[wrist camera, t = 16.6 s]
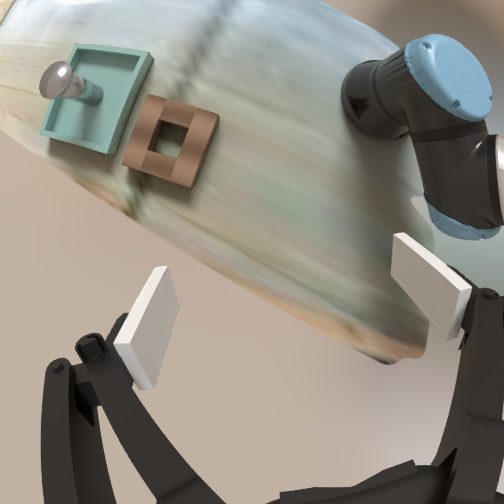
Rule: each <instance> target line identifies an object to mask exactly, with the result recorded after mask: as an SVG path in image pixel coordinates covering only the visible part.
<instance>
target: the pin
mask: <svg viewBox="0 0 504 504" xmlns="http://www.w3.org/2000/svg"><path fill="white" fill-rule="evenodd" d="M39 89H40V93H41V95H42V96H43V97H45V98H48V99H56V98H59V97H63V98H66V99H69V100H72V101H75V102H78V103H81V104H84V105H87V106H90V107H93V106H96V105H98V104H99V103H100V102H101V100H102V98H103V96H104V91H103V88H102V87H101V86H99V85H97V84H95V83H93V82H91V81H89V80H87V79H85V78H83V77H81V76H79V75H77V74H75V73H73V68H72V66H71V65H70V64H68V63H66V62H64V61H58V62H55V63H53V64H52V65H51V66H49V67H48V68H47V70H46V71H45V72H44V74H43V76H42V78H41V81H40V86H39Z"/></svg>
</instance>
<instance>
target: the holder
mask: <svg viewBox="0 0 504 504" xmlns="http://www.w3.org/2000/svg"><path fill="white" fill-rule="evenodd" d="M219 118H220V117H219V114H216V113H213V112H210V111H206V110H203V109H200V108H197V107H194V106H190V105H187V104H183V103H180V102H176V101H173V100H169V99H165V98H162V97H158V96H154V95H150V94H148V95H147V97H146V99H145V102H144V104H143V107H142V109H141V112H140V114H139V117H138V119H137V122H136V124H135V127H134V130H133V132H132V135H131V138H130V141H129V144H128V147H127V150H126V152H125V156H124V159H123V162H122V165H124V166H127V167H130V168H133V169H136V170H139V171H142V172H145V173H148V174H151V175H154V176H157V177H160V178H163V179H166V180H169V181H172V182H175V183H178V184H181V185H184V186H186V187H189V188H191V187H193V185H194V182H195V180H196V177H197V174H198V172H199V169H200V166H201V164H202V161H203V158H204V156H205V153H206V151H207V148H208V145H209V143H210V140H211V138H212V135H213V133H214V130H215V128H216V126H217V123H218V121H219ZM163 122H167V123H170V124H173V125H177V126H180V127H183V128H186V129H189V130H188V132H187V135H186V137H185V140H184V143H183V145H182V148H181V150H180V153H179V156H178V159H176V158H173V157H170V156H167V155H164V154H161V153H157V152H154V151H152V150H153V148H154V145H155V142H156V139H157V137H158V134H159V132H160V129H161V126H162V124H163Z"/></svg>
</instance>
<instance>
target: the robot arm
mask: <svg viewBox="0 0 504 504" xmlns="http://www.w3.org/2000/svg"><path fill="white" fill-rule="evenodd" d="M490 100H492V90H491V86H490V83H489V80H488V78H487V75H486V73H485V71H484V69H483V68H482V66H481V65H480V63H479V62H478V60H477V59H476V58H475V56H473V54H472V53H471V52H470V51H469V50H468V49H466V48H465V47H464V46H462V44H460V43H459V42H457V41H456V40H454V39H452V38H450V37H447V36H444V35H440V34H431V35H427V36H425V37H422V38H420V39H416V40H414V41H411V42H410V43H408V44H407V45H406V46H405V47H403V48H401V49H400V50H398V51H397V52H395V53H394V54H392V55H390V56H389V57H387V58H386V59H384V60H369V61H365V62H362V63H360V64H358V65H357V66H355V67H354V68H353V69H351V70H350V71H349V72H348V74H347V75H346V77H345V79H344V81H343V84H342V102H343V106H344V109H345V111H346V113H347V115H348V117H349V119H350V120H351V122H352V123H353V124H354V125H355V126H356V127H357V128H358V129H359V130H360V131H361V132H362V133H364V134H365V135H367V136H368V137H370V138H373V139H375V140H379V141H394V140H399V139H402V138H404V137H406V136H407V135H409V134H410V135H411V139H412V143H413V147H414V150H415V154H416V158H417V162H418V166H419V170H420V174H421V179H422V183H423V188H424V198H425V200H426V203H427V205H428V210H429V215H430V218H431V220H432V222H433V223H434V225H435V226H436V227H437V228H438V229H439V230H440V231H442V232H443V233H445V234H447V235H449V236H452V237H455V238H459V239H464V240H479V239H480V238H483V239H488V238H491V237H493V236H495V235H496V234H497V233H498V232H499V231H500V228H501V226H502V225H504V136H502V135H501V134H494V135H489V134H488V131H487V127H486V123H485V120H484V118H485V117H486V116H487V115H488V114H489V113H490V111H491V109H492V103H491V101H490ZM390 275H391V276H392V278H393V279H394V280H395V281H396V282H397V283H398V284H399V285H400V287H401V288H402V289H403V290H404V291H405V292H406V293H407V295H408V296H409V297H410V298H411V299H412V300H413V302H414V303H415V304H416V305H417V306H418V308H419V309H420V310H421V311H422V312H423V314H424V315H425V316H426V317H427V319H428V320H429V321H430V322H431V323H432V325H433V326H434V327H435V328H436V330H437V331H438V332H439V333H440V335H441V336H442V337H443V339H444V340H445V341H448V340H451V339H454V338H456V337H458V334H459V331H460V328H461V327H462V328H463V329H464V331H465V333H464V336H463V339H462V341H461V344H460V347H459V350H460V349H461V348H462V349H461V356H460V363H459V369H458V374H457V380H456V385H455V390H454V394H453V399H452V403H451V407H450V411H449V415H448V419H447V422H446V426H445V430H444V433H443V436H442V439H441V443H440V446H439V448H438V451H437V454H436V456H435V458H434V460H433V462H432V463H431V465H418V466H415V463H414V461H413V459H412V460H410V461H407V462H405V463H402V464H399V465H396V466H393V467H391V468H388V469H385V470H383V471H381V472H379V473H377V474H376V475H374V476H372V477H370V478H368V479H366V480H365V481H363V482H361V483H359V484H357V485H355V486H352V487H333V488H332V487H330V488H328V487H313V488H307V489H301V490H295V491H287V492H280V499H277V500H274V501H271V502H269V503H267V504H504V494H501V493H499V492H496V489H497V485H498V481H499V477H500V473H501V468H502V464H503V459H504V421H503V420H502V413H503V402H504V296H499V294H498V293H497V292H496V291H494V290H492V289H489V288H480V289H479V288H478V287H477V286H476V285H474V284H473V283H472V282H471V281H470V280H469V279H467V278H465V276H464V275H463V274H461V273H460V272H459V271H458V270H457V269H455V268H454V267H451V266H449V265H445V264H444V263H443V262H442V261H441V260H439V259H438V258H437V257H436V256H434V255H433V254H432V253H430V252H429V251H428V250H427V249H425V248H424V247H423V246H421V245H420V244H419V243H417V242H416V241H415V240H413V239H412V238H411V237H409V236H408V235H407V234H405V233H397V234H393V249H392V263H391V274H390ZM179 307H180V306H179V303H178V299H177V296H176V293H175V289H174V286H173V283H172V279H171V276H170V273H169V269H168V266H161V267H155V269H154V270H153V272H152V274H151V275H150V277H149V279H148V281H147V282H146V284H145V286H144V288H143V289H142V291H141V293H140V295H139V296H138V298H137V300H136V302H135V304H134V305H133V307H132V309H131V311H130V313H124V314H122V315H121V316H120V317H119V318H118V319H117V320H116V322H115V324H114V326H113V328H112V329H111V332H110V333H109V335H108V336H107V338H106V340H105V341H104V339H103V337H102V335H100V334H99V333H90V334H88V335H85V336H83V337H82V338H80V340H79V341H78V342H77V343H76V345H75V350H76V352H77V354H78V355H79V357H80V358H81V360H82V362H83V363H81V364H77V365H73V366H72V365H71V364H70V362H69V360H67V359H66V358H58V359H56V360H54V361H53V362H51V363H50V364H49V366H48V367H47V369H46V373H45V381H44V391H43V401H42V416H41V472H42V486H43V496H44V504H116V500H115V497H114V493H113V489H112V485H111V481H110V477H109V473H108V469H107V464H106V459H105V454H104V449H103V444H102V438H101V432H100V426H99V419H98V412H97V406H102V407H103V410H104V412H105V414H106V416H107V418H108V420H109V422H110V424H111V426H112V428H113V430H114V432H115V434H116V435H117V437H118V439H119V441H120V443H121V445H122V446H123V448H124V450H125V452H126V453H127V454H128V457H129V458H130V460H131V462H132V463H133V465H134V466H135V468H136V470H137V471H138V472H139V474H140V476H141V477H142V479H143V480H144V482H145V483H146V485H147V486H148V488H149V489H150V490H151V492H152V493H153V495H154V496H155V498H156V500H157V502H156V503H157V504H226V503H225V502H224V501H223V500H222V499H221V498H220V497H219V496H218V495H217V494H216V493H215V492H214V491H213V490H212V489H211V488H210V487H209V486H208V485H207V484H206V483H205V482H204V481H203V480H202V479H201V478H200V477H199V476H198V475H197V473H195V471H194V470H193V469H192V468H191V467H190V466H189V465H188V463H187V462H186V461H185V460H184V459H183V457H182V456H181V455H180V454H179V453H178V451H177V450H176V449H175V448H174V447H173V445H172V444H171V443H170V442H169V440H168V439H167V437H166V436H165V435H164V434H163V432H162V431H161V430H160V428H159V427H158V426H157V424H156V423H155V422H154V420H153V419H152V417H151V416H150V414H149V413H148V412H147V410H146V409H145V407H144V406H143V404H142V403H141V401H140V400H139V398H138V397H137V395H136V394H135V392H134V391H133V389H132V385H133V382H135V384H136V385H137V387H138V389H139V390H155V386H156V383H157V379H158V375H159V372H160V369H161V365H162V362H163V358H164V355H165V352H166V348H167V345H168V342H169V339H170V335H171V332H172V328H173V326H174V322H175V319H176V316H177V313H178V310H179Z"/></svg>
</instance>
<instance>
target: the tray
mask: <svg viewBox="0 0 504 504" xmlns="http://www.w3.org/2000/svg"><path fill="white" fill-rule="evenodd" d="M153 60H154V58H153V57H152V56H151V54H150V53H149V52H146V51H140V50H134V49H128V48H121V47H113V46H104V45H93V44H80V43H76V44H75V46H74V48H73V50H72V52H71V54H70V56H69V58H68V60H67V62H66V63H68V64H70V65H71V66H72V68H73V73H75V74H77V75H79V76H81V77H83V78H85V79H87V80H89V81H91V82H93V83H95V84H97V85H99V86H101V87H102V88H103V91H104V96H103V98H102V100H101V102H100V103H99V104H98V105H96V106H93V107H90V106H87V105H84V104H81V103H78V102H75V101H72V100H69V99H66V98H63V97H59V98H56V99H51V101H50V104H49V107H48V109H47V112H46V115H45V118H44V122H43V125H42V128H41V131H40V135H42V136H46V137H50V138H53V139H57V140H61V141H64V142H68V143H71V144H75V145H78V146H82V147H85V148H89V149H92V150H95V151H99V152H102V153H105V154H116V151H117V148H118V145H119V142H120V139H121V136H122V133H123V131H124V128H125V125H126V123H127V120H128V117H129V115H130V112H131V110H132V107H133V105H134V102H135V100H136V97H137V95H138V93H139V90H140V88H141V86H142V84H143V81H144V79H145V77H146V75H147V73H148V70H149V68H150V66H151V64H152V62H153Z"/></svg>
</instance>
